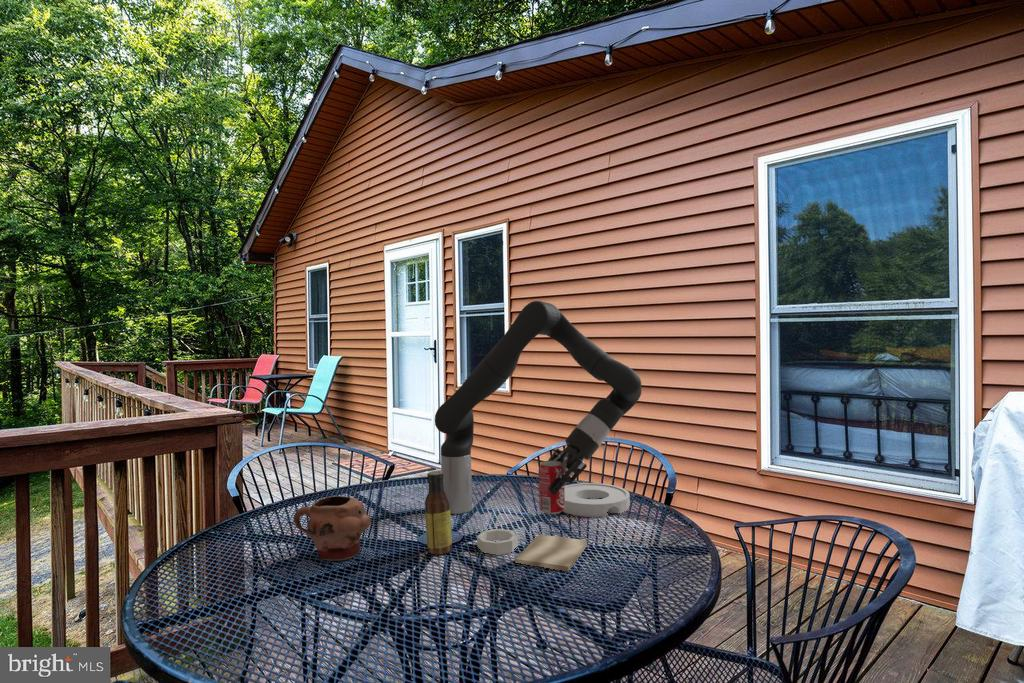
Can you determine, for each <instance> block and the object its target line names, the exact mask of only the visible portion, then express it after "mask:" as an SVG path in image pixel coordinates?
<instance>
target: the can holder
mask: <svg viewBox="0 0 1024 683" xmlns="http://www.w3.org/2000/svg"><path fill="white" fill-rule="evenodd" d="M518 537H519V535H518V534H517V533H516V532H514V531H513V530H510V529H503V528H502V529H501V528H493V529H488V530H483V531H482V532H480V534H478V535H477V536H476V540H477V541H476V542H477V543H476V544H477V545H476V546H477V547H478V548H479V549H480V550H481V551H482V552H484V553H490V554H496V555H495V556H497V555H498V556H502V555H508V554H512V553H514V552H515V550H516V549H517V548H518V547H519V543H518V542H519V540H518ZM494 540H502V541H499V542H495V541H494ZM517 546H518V547H517ZM516 547H517V548H516ZM478 548H477V549H478ZM515 548H516V549H515ZM479 549H478V550H479ZM514 549H515V550H514ZM480 550H479V551H480ZM481 551H480V552H481ZM482 552H481V553H482ZM511 552H512V553H511ZM490 554H489V555H490Z"/></svg>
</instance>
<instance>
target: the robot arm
mask: <svg viewBox="0 0 1024 683" xmlns="http://www.w3.org/2000/svg"><path fill="white" fill-rule="evenodd" d="M538 335H541V336H547V337H549V338H551V339H552V340H554V341H556V342H557V343H558V344H560V345H561V346H562V347H564V349H565V350H567V352H568V353H569V354H570V356H571V357H572V359H573V360H574V362H576V364H578V365H579V366H580V367H581V369H583V370H585V372H587V373H588V374H589V375H591V376H592V377H593V378H594V379H596V380H597V381H601V382H605V383H607V384H608V385H609V386H610V387H611V388H612V390H611V391H610V393H609V394H608V395H607V396H605V397H606V398H601V399H599V400H598V401H597V402H596V404H594V406H593V407H592V408H591V410H590V411H589V412H588V413H587V414H586V415H585V416H584V417H583V418H582V419H581V420H580V421H579V422H578V424H577V425H576V426H575V427H574V429H573V430H571V432H570V433H569V435H568V436H567V437H566V439H565V445H566V447H565V448H564V449H562V450H561V449H560V448H556V449H555V450H554V451H553V453H552V454H551V455H550V457H549V458H548V459H547V461H559V462H561V467H560V469H561V472H560V474H559V476H558V477H559V478H556V479H555V481H554V482H553V483H552V484H551V485H550V487H549V488H548V491H549V492H551V493H552V494H553V495H556V493H557V492H558V491H559V490H560V488H561V487H562V486H563V485H564V486H565V485H566V484H568V483H569V485H571V484H573V483H574V481H575V480H576V479H577V478H578V477H579V476H580V475H581V474H582V473H583V472H584V470H585V469H587V467H588V464H587V463H585V461H589V460H590V459H591V458H592V457H593V455H594V454H595V453H596V451H598V449H599V448H600V447H601V445H602V444H603V443H604V442H605V440H606V439H607V437H608V436H609V433H610V432H611V431H612V430H613V428H614V427H615V426H616V425H617V424H618V422H619V421H620V419H621V418H623V416H625V415H626V414H627V413H628V412H629V411H630V410H632V408H633V407H634V406H635V405H636V404H637V402H638V401H639V400H640V399H641V395H642V381H641V377H640V376H639V374H638V373H637V372H636V371H634V369H632V368H631V367H629V366H628V365H626V364H624V363H622V362H621V361H618V360H616V359H614V358H613V357H611V355H610V354H608V353H607V352H605V351H604V350H603V349H602V348H601V347H599V346H598V345H596V344H595V343H594V342H593V341H591V340H590V339H589V338H588V337H586V335H584V334H583V333H582V332H580V330H578V329H577V328H576V327H575V326H574V325H573V324H572V323H571V322H570V321H569V319H568V318H567V317H566V316H565V315H564V314H563V312H561V310H560V309H559V308H558V307H557V306H556V305H554V304H552V303H549V302H546V301H542V300H541V301H540V300H534V301H531V302H529V303H527V304H526V305H525V306H524V307H523V308H522V309H521V311H520V312H519V314H518V315H517V316H516V318H515V320H514V321H513V322H512V324H511V325H510V327H509V328H508V329H507V331H506V332H505V333H504V334H503V336H502V337H501V338H500V339H499V341H497V343H496V344H495V345H494V346H493V347H492V348H491V350H490V351H489V352H488V353H487V354H486V355H484V358H483V359H482V360H481V361H480V362H479V364H477V366H476V367H475V368H474V370H473V371H472V372H471V373H470V375H468V377H467V378H466V379H465V381H463V383H462V384H461V386H460V387H459V388H458V389H457V390H456V391H455V392H454V393H453V394H452V395H451V396H450V397H449V398H448V399H447V400H446V401H444V402H443V403H442V404H441V405H440V406H439V407H438V409H437V410H436V412H435V414H434V426H435V427H436V429H437V430H438V431H439V432H441V433H443V434H447V435H446V438H445V440H444V442H443V443H442V444H441V445H440V467H441V468H440V470H441V472H443V474H444V478H443V485H444V491H445V494H446V497H447V499H448V502H449V505H450V515H451V514H453V515H458V514H459V515H460V514H465V513H469V512H470V511H472V509H473V495H472V494H473V492H472V491H473V487H472V447H473V444H474V432H475V431H474V424H475V423H474V412H473V409H474V408H475V407H476V406H477V405H479V404H480V403H481V402H483V401H484V400H485V399H487V398H489V396H491V395H493V394H494V393H495V392H496V391H498V390H499V389H500V388H501V387H502V386H503V384H504V383H505V382H506V381H507V380H508V379H509V378H510V377H511V376H512V374H513V373H514V372H515V370H516V367H517V365H518V362H519V359H520V356H521V354H522V352H523V351H524V349H525V348H526V346H528V345H529V343H530V342H532V340H534V339H535V338H536V337H537V336H538ZM584 460H585V461H584ZM537 484H538V485H539V479H538V480H537Z"/></svg>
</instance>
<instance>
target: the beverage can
mask: <svg viewBox="0 0 1024 683" xmlns="http://www.w3.org/2000/svg"><path fill="white" fill-rule="evenodd" d="M560 467H561V462H559V461H548V460H545V461H541V462H540V466H539V467H538V480H539V484H538V492H539V494H538V498H539V499H538V500H539V502H538V503H539V506H538V508H539V510H540V511H541V512H543V513H544V514H547V515H558V514H561V512H563V510H564V509H565V491H564V486H565V484H564V485H563V486H562V487H561V488H560V490H559V491H558V492H557V493H556V495H553V494H552V493H551V492H549V491H548V488H549V487H550V485H551V484H552V483H553V482H554V481H555V479H556V478H559V477H558V476H559V474H560V472H561V469H560Z"/></svg>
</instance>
